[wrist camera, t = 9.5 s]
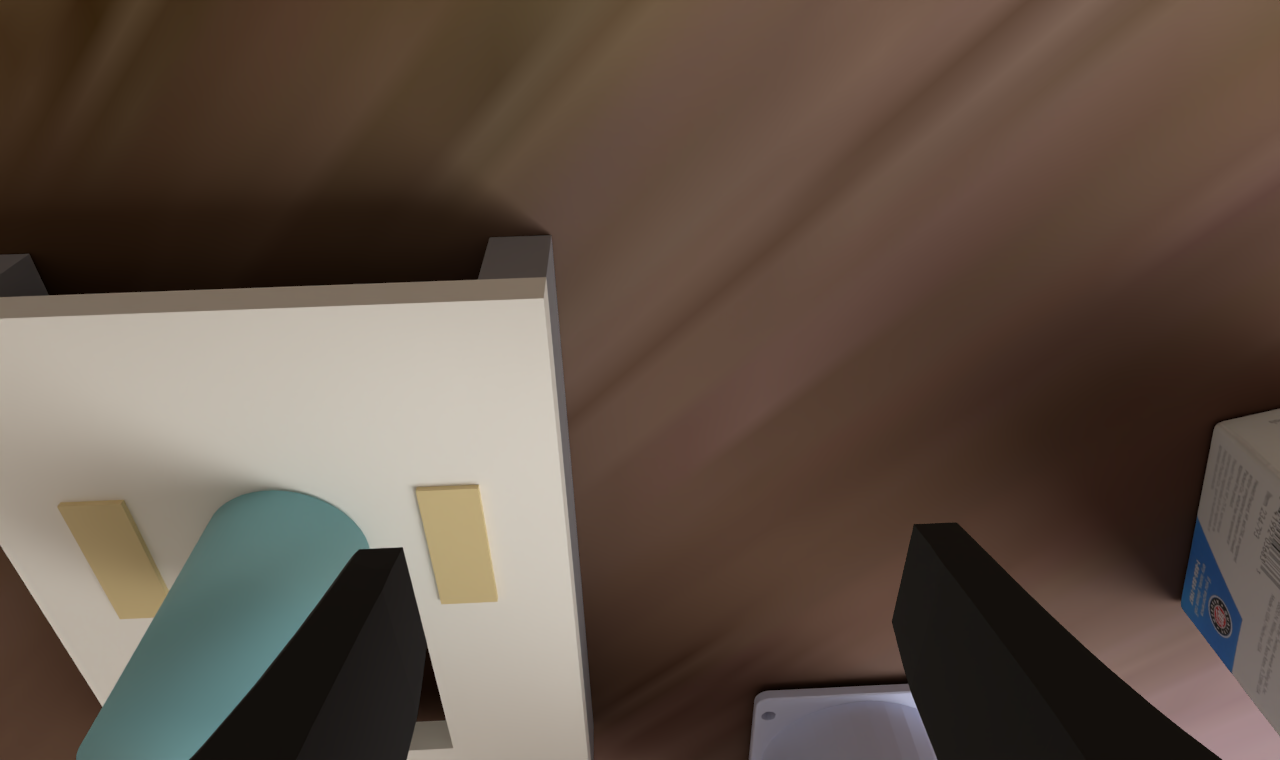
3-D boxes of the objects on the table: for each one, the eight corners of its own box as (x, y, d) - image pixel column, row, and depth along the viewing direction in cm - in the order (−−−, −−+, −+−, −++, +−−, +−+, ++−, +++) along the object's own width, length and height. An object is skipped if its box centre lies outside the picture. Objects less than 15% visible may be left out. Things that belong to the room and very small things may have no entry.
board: (593, 726, 31) (593, 817, 28) (220, 745, 30) (181, 838, 28) (551, 235, 20) (542, 301, 17) (-35, 255, 19) (-146, 327, 16)
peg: (412, 521, 25) (326, 836, 17) (264, 520, 24) (106, 840, 17) (396, 403, 22) (286, 706, 14) (231, 400, 22) (28, 708, 14)
